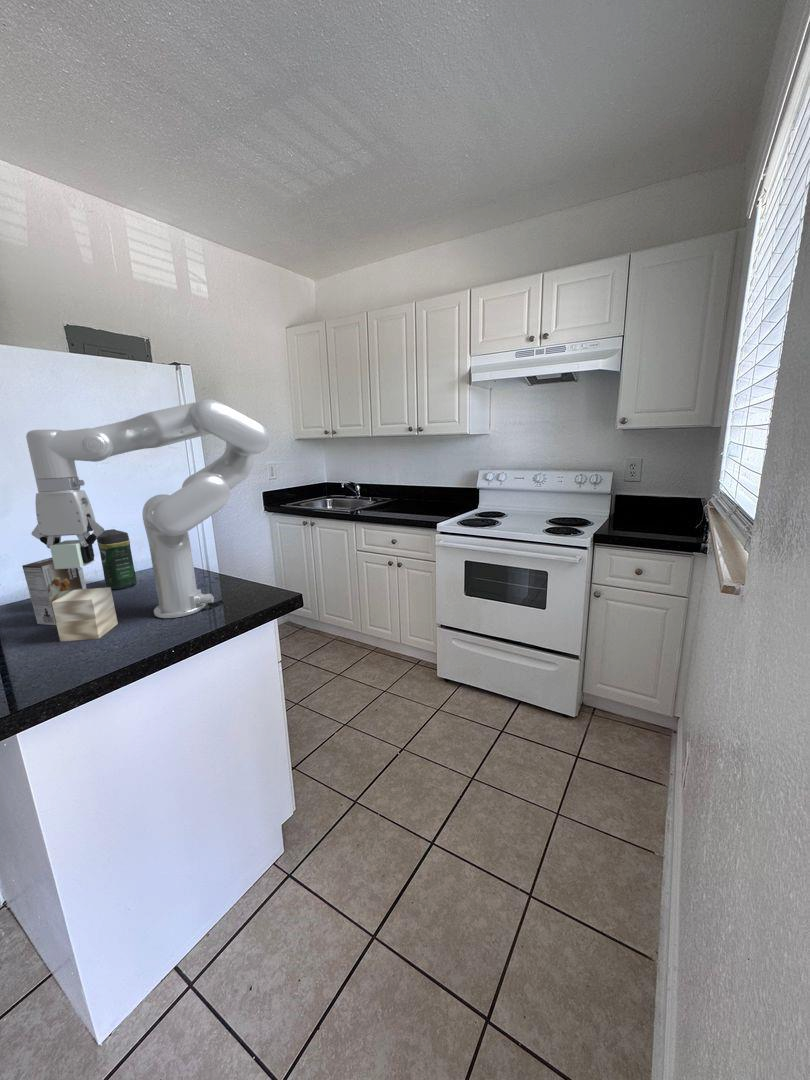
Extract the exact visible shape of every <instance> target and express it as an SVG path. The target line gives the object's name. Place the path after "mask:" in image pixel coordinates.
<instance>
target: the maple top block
mask: <svg viewBox="0 0 810 1080" xmlns="http://www.w3.org/2000/svg"><path fill="white" fill-rule="evenodd" d="M52 606H53V610H54V615H55V619H56V623H57V622H69V621H82V620H94V619H97V618H99V617H100V616H101V615H103V614H104V613H105V612H107V611H108V610H109V609H111V608H112V607H115V603H114V596H113V593H112V589H111V587H107V586H106V587H97V588H87V589H80V590H73V591H71V592H69V593H67V594H66V595H64V596H62V597H60V598H58V599H57V600H55V601H53V602H52Z"/></svg>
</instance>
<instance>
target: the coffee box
mask: <svg viewBox="0 0 810 1080" xmlns="http://www.w3.org/2000/svg"><path fill="white" fill-rule="evenodd" d="M21 567H22V570H23V573H24V578H25V581H26V585H27V589H28V593H29V597H30V600H31V604H32V607H33V612H34V615H35V620H36V623H37V625H45V626H46V625H49V626H57V625H56V619H55V615H54V610H53V606H52V602H53V601H55V600H57V599H58V598H60V597H62V596H64V595H66V594H67V593H69V592H71V591H73V590H80V589H82V585H81V580H80V576H79V572H78V568H67V569H55V567H54V563H53V558H52V557H49V558H45V559H41V560H37V561H34V562H30V563H26V564H23V565H21Z"/></svg>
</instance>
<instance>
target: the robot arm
mask: <svg viewBox="0 0 810 1080" xmlns="http://www.w3.org/2000/svg"><path fill="white" fill-rule="evenodd" d="M206 435H213V436H214V437H217V438H218V439H220V440H222V441H224V442H225V450H224V452H223V454H222V455H221V456H219V458H217V459H215V460H214V461H213V462H211V463H210V464H208V465H206V466H205V467H203V468H202V469H200V470H198V471H196V472H194V473H193V474H191V475H189V476H188V477H187V478H185V480H184V481H183V483H182V486H181V488H179V489H178V490H176V491H175V492H173V493H172V494H156V495H154V496H152V497H150V498H149V499H148V500H147V501H145V503H144V505H143V509H142V522H143V525H144V529H145V533H146V536H147V537H146V538H147V541H148V547H149V553H150V559H151V563H152V564H151V565H152V569H153V576H154V583H155V588H156V592H157V599H158V605H157V606H156V607H155V608H154V609H153V615H154V616H155V617H157V618H160V619H175V618H180V617H186V616H190V615H193V614H195V613H198V612H200V611H201V610H203V609H204V608H205V607H206V604H211V603H214V601H215V597H214V595H213V594H212V593H202V590H201V589H200V588H199V589H198V588H197V582H196V581H197V580H196V574H195V567H194V560H193V554H192V553H193V552H192V546H191V541H190V535H189V531H191V530H192V529H194V528H196V527H198V525H200V524H201V523H203V522H204V521H205V520H207V519H209V518H210V517H212V516H213V515H215V514H216V513H217V512H219V511H220V510H221V509H222V508H224V507H225V505H226V504H227V503H228V501H229V499H230V495H231V493H230V491H231V490H232V489H233V488H235V487H236V486H238V485H239V484H240V483H242V482H243V481H244V480H245V479H246V478H247V477H248V476H249V474H250V473H251V470H252V468H253V465H254V459H255V455H257V454H261V453H263V452H264V451H266V449H267V448H268V446H269V443H270V435H269V433H268V430H267V429H266V428H265V427H264V426H263V425H262V424H261V423H260V422H258V421H256V420H254V419H253V418H251V417H249V416H247V415H245V414H243V413H241V412H239V411H238V410H236V409H234V408H232V407H230V406H229V405H226V404H224V403H222V402H221V401H219V400H215V399H212V398H211V399H210V398H206V399H202V400H199V401H195V402H191V403H186V404H182V405H177V406H172V407H168V408H162V409H158V410H154V411H150V412H145V413H142V414H139V415H137V416H134V417H132V418H128V419H125V420H122V421H117V422H114V423H109V424H106V425H101V426H95V427H87V428H80V429H70V430H62V429H32V430H29V431H27V432H26V437H25V438H26V443H27V446H28V447H27V449H28V453H29V457H30V461H31V465H32V466H31V467H32V470H33V475H34V478H35V484H36V488H37V489H36V490H37V491H38V492H36V493H35V514H36V521H37V522H36V523H37V524H36V526H35V527H34V528H33V530H32V532H30V533H31V536H33V537H34V538H36V539H37V540H40V542H41V543H43V544H44V545H45V546H46V548H47V549H50V546H51V545H54V544H57V543H60V542H62V541H61V540H62V536H63V537H65V536H67V537H68V536H76V537H77V540H79V541H80V542H81V544H82V547H80V549H81V554H82V559H83V563H89V562H91V561H93V560H94V561H95V553H94V551H95V550H94V548H93V547H94V546H93V545H94V544H95V542H96V541H97V538H98V537H99V536H100V535H101V534H102V533H103V532H104V530H105V529H104V527H103V526H101V525H100V524H99V523H97V522H96V517H95V514H94V511H93V507H92V505H91V501H90V499H89V497H88V494H87V493H86V491H85V490H82V489H81V486H82V487H83V486H85V481H84V480H83V479H79V476H78V473H77V467H76V462H75V461H80V462H93V463H95V462H96V463H97V462H102V461H105V460H107V459H108V458H110V457H114V456H117V455H122V454H125V453H129V452H134V451H138V450H147V449H156V448H157V449H158V448H161V447H165V446H170V445H173V444H177V443H180V442H184V441H189V440H192V439H197V438H201V437H204V436H206ZM90 532H92V533H90ZM50 550H51V549H50Z"/></svg>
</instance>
